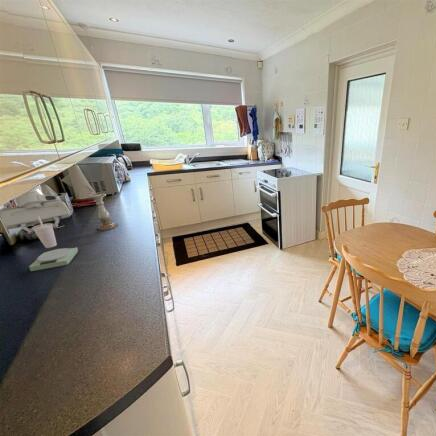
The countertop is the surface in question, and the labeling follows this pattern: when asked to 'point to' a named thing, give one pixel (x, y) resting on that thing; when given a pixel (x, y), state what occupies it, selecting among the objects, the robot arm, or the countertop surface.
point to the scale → (54, 258)
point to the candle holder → (103, 212)
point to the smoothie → (45, 234)
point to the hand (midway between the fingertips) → (44, 230)
